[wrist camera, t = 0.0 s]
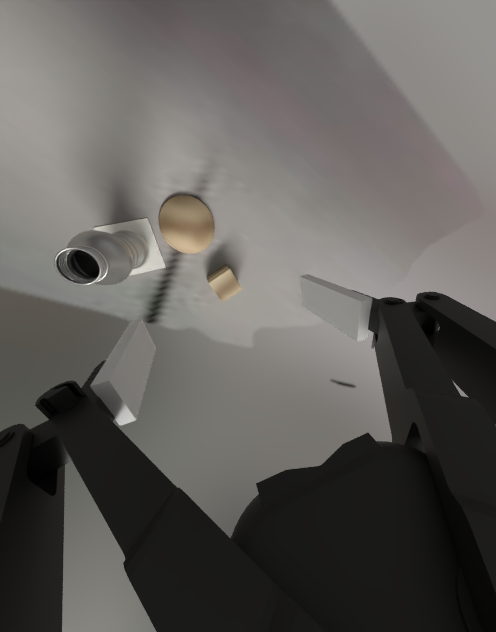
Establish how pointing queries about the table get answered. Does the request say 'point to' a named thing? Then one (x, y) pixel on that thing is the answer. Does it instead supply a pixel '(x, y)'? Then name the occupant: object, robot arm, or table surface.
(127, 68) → the table surface
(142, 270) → the card
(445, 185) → the table surface
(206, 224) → the cork coaster
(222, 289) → the oak block
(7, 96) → the table surface
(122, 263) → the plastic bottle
